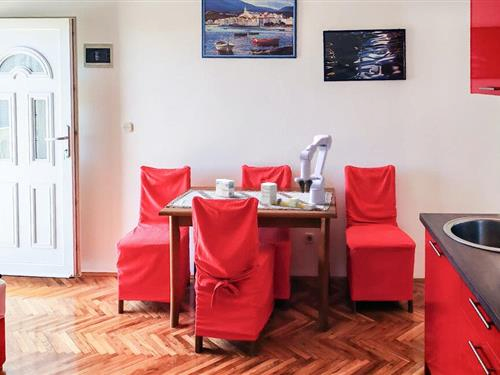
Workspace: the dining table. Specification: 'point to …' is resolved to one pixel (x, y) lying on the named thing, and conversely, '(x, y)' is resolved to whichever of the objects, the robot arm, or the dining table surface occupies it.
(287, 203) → the pale yellow rod
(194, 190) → the dining table surface
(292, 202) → the sleeve
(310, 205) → the comb
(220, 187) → the light bulb box
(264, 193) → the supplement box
